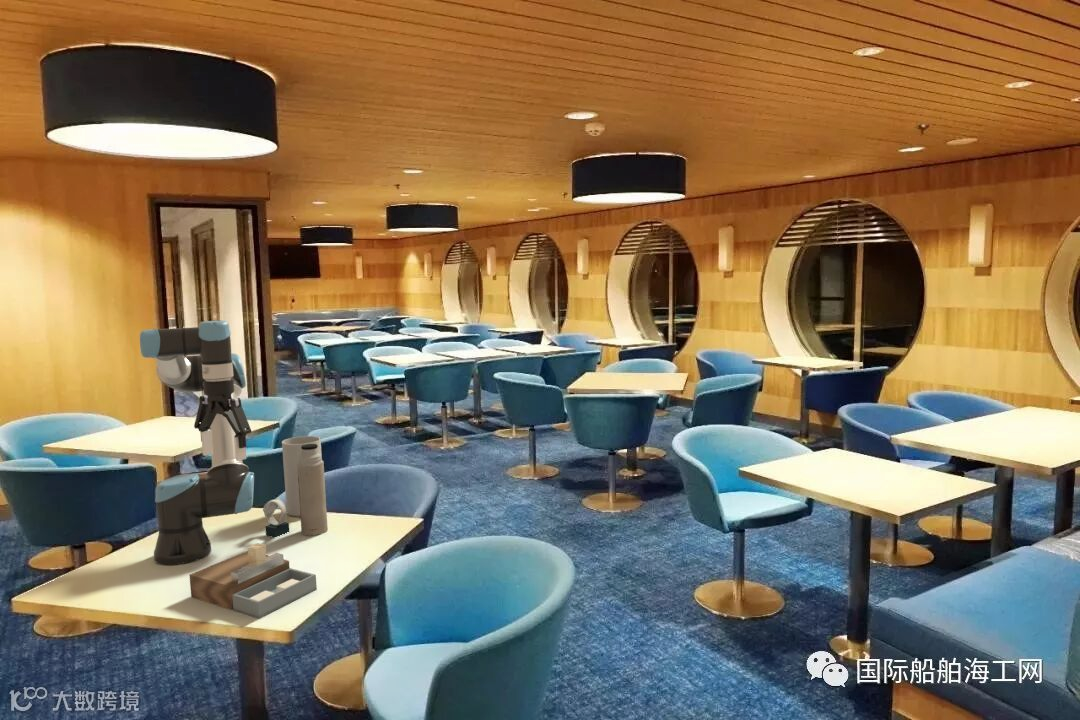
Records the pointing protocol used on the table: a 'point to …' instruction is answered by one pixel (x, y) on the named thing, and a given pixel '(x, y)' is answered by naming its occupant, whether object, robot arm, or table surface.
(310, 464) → the thermos bottle
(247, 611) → the box
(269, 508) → the watch
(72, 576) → the table surface
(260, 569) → the gray bar with knob
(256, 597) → the tile
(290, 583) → the tile
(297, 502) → the cylinder vase
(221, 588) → the wood grain panel
